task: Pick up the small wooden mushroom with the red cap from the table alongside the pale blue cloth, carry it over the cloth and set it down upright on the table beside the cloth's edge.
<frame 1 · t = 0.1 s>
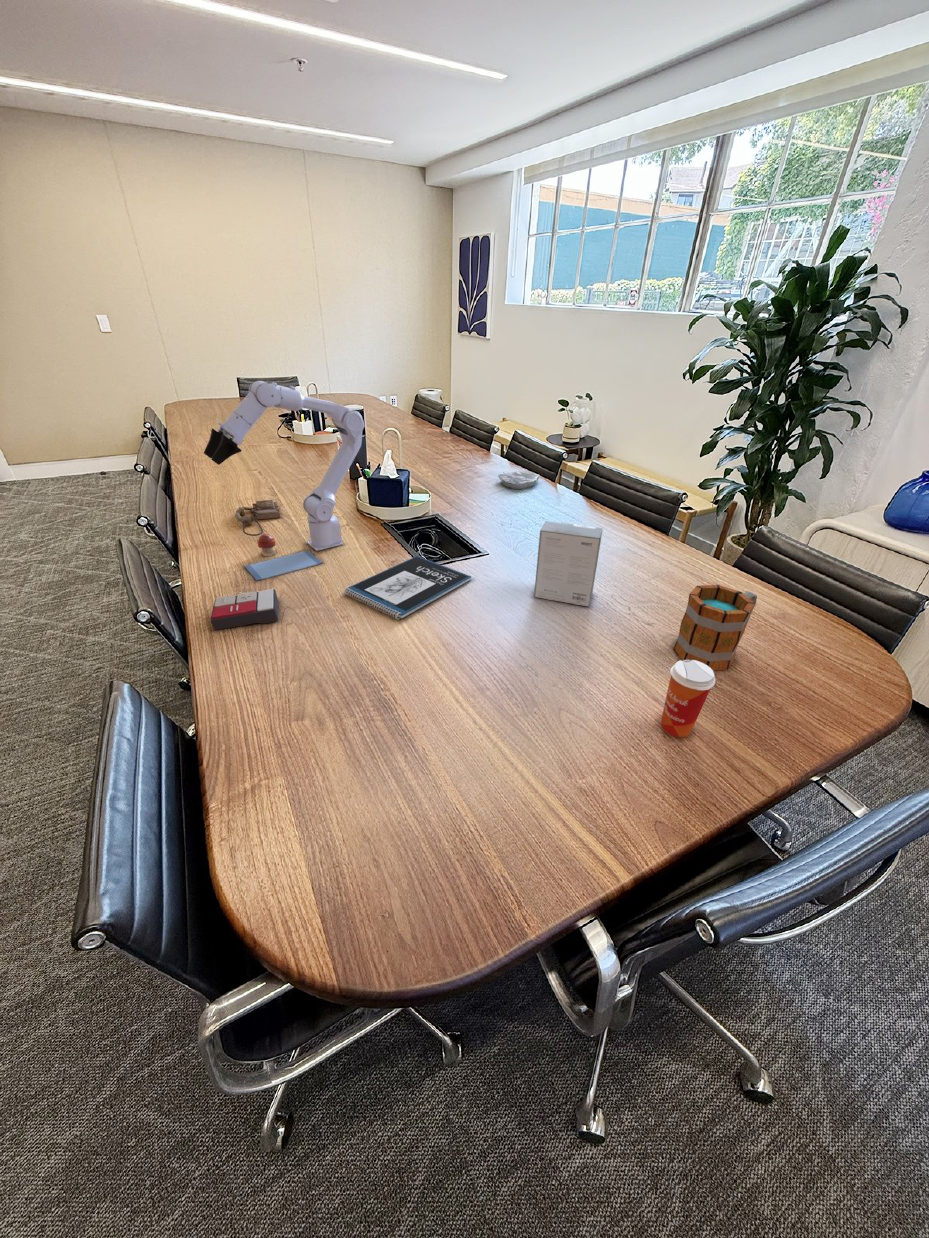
hand: (211, 459, 137), 32 cm above the table, tool tilted 50°, fingers open, 7 cm apart
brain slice: (517, 484, 228), on the table
grey and red box: (247, 615, 131), on the table
sketchbook: (409, 587, 145), on the table
mushroom: (268, 553, 162), on the table
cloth: (283, 565, 155), on the table
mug: (711, 651, 122), on the table
hard drive box: (562, 596, 143), on the table
paper cup: (675, 728, 99), on the table
telephone: (259, 520, 185), on the table
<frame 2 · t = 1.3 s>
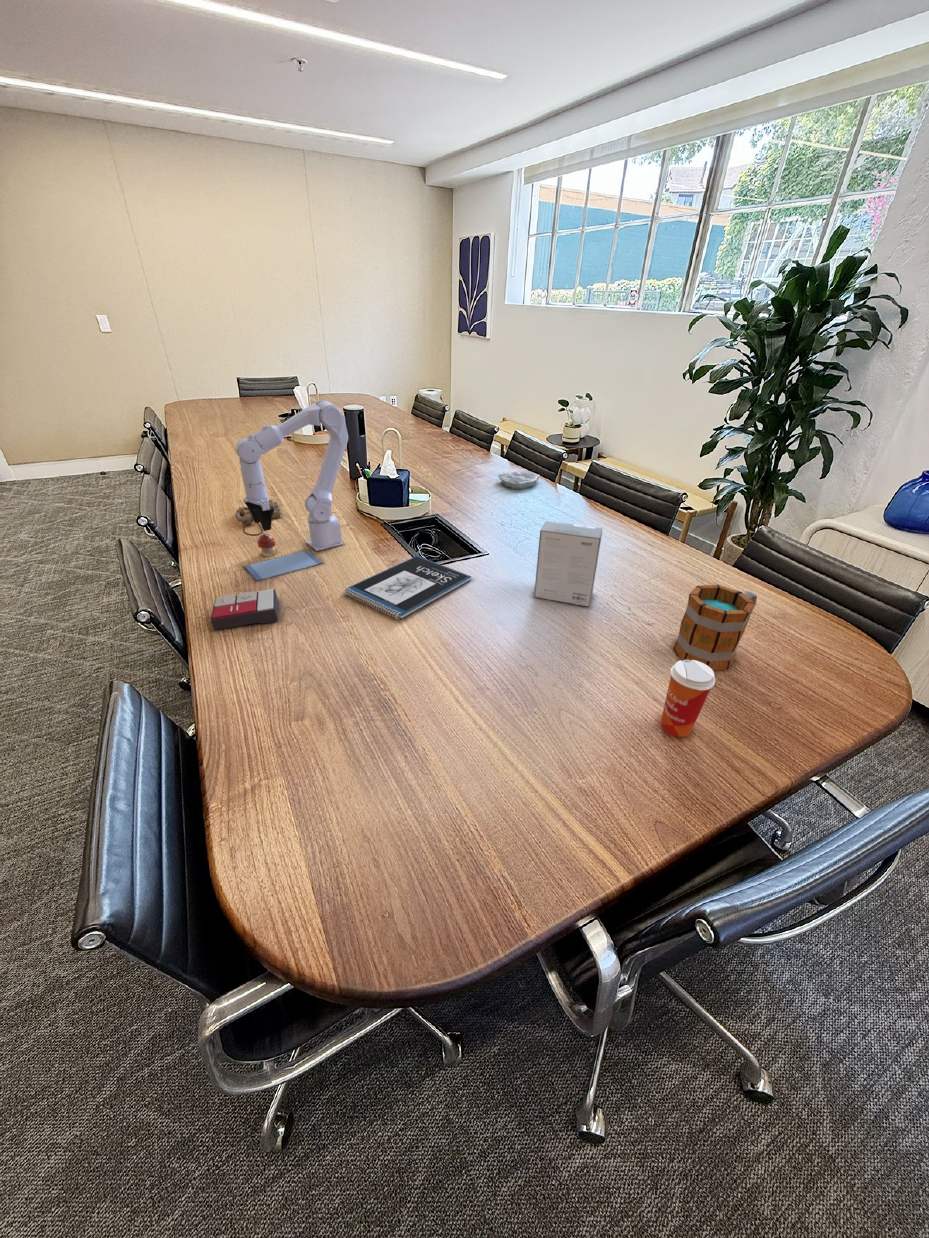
hand: (263, 526, 157), 9 cm above the table, tool pointing down, fingers open, 7 cm apart
nothing on the table moved.
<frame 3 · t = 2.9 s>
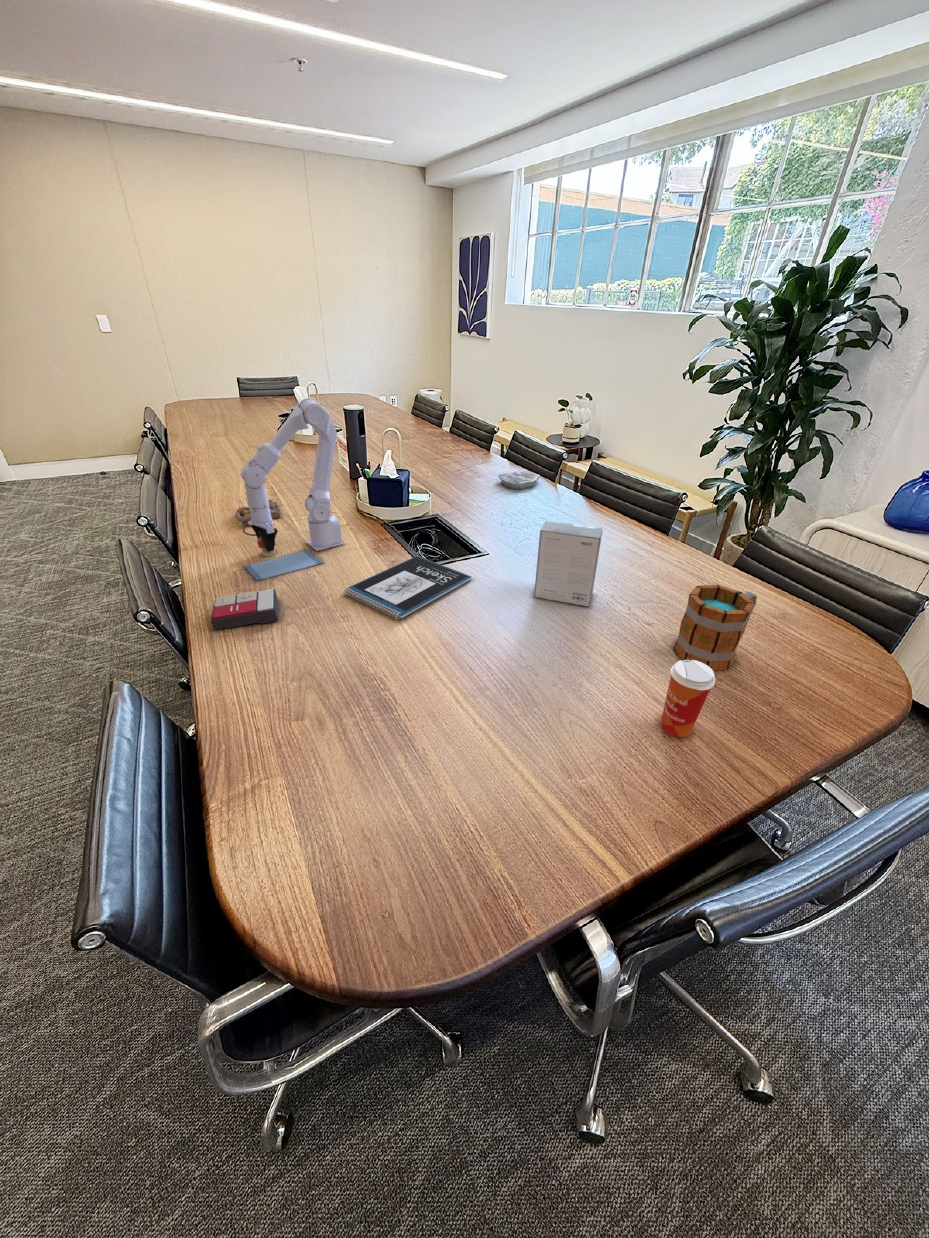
hand: (267, 547, 160), 2 cm above the table, tool pointing down, fingers closed on mushroom, 5 cm apart
mushroom: (268, 553, 161), on the table, touching gripper
everything else where it was.
when the fingers open (2 cm above the table, at t = 8.2 s): mushroom stays where it is, on the table.
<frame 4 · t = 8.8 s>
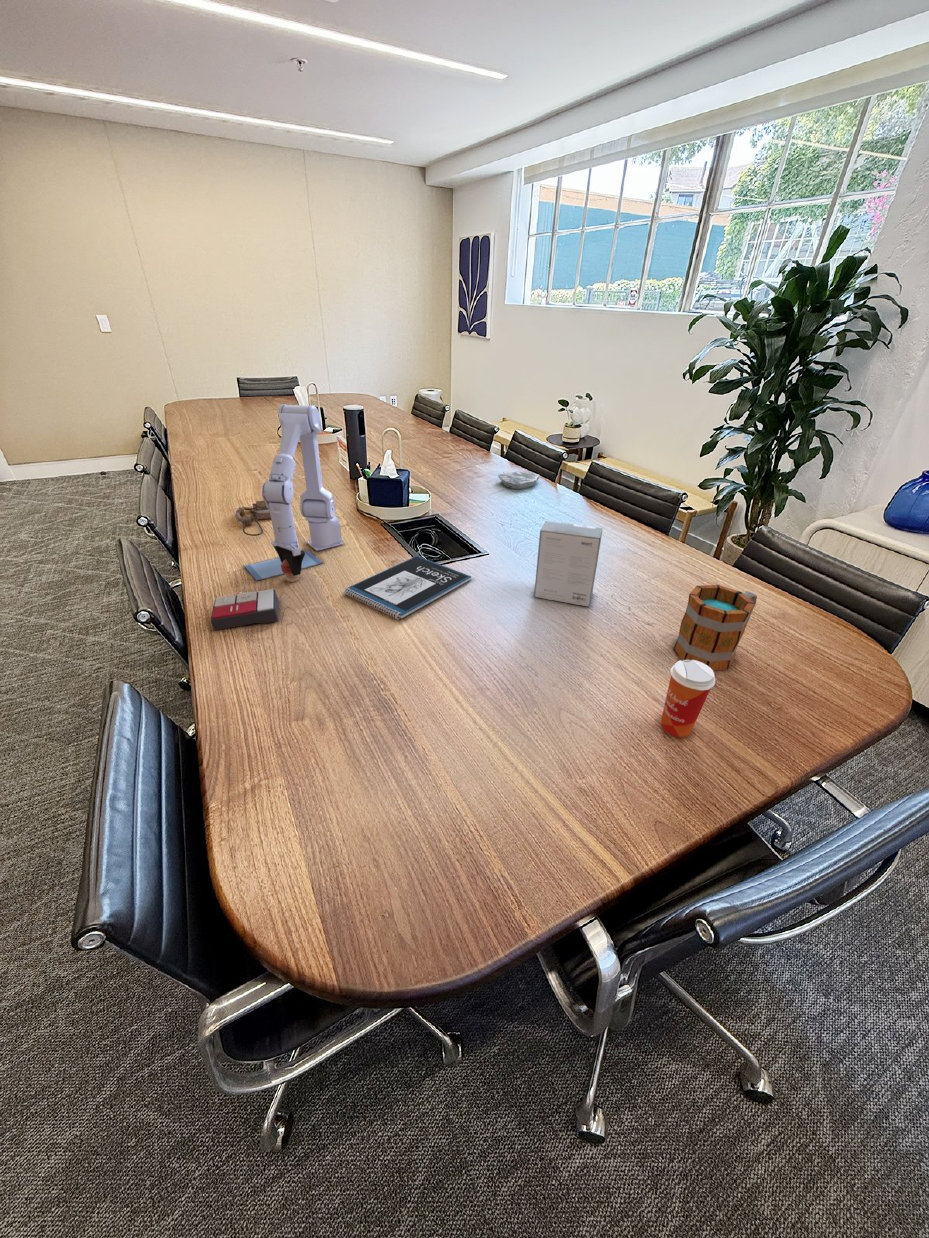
hand: (291, 569, 146), 3 cm above the table, tool pointing down, fingers open, 7 cm apart
mushroom: (292, 578, 148), on the table
everything else where it was.
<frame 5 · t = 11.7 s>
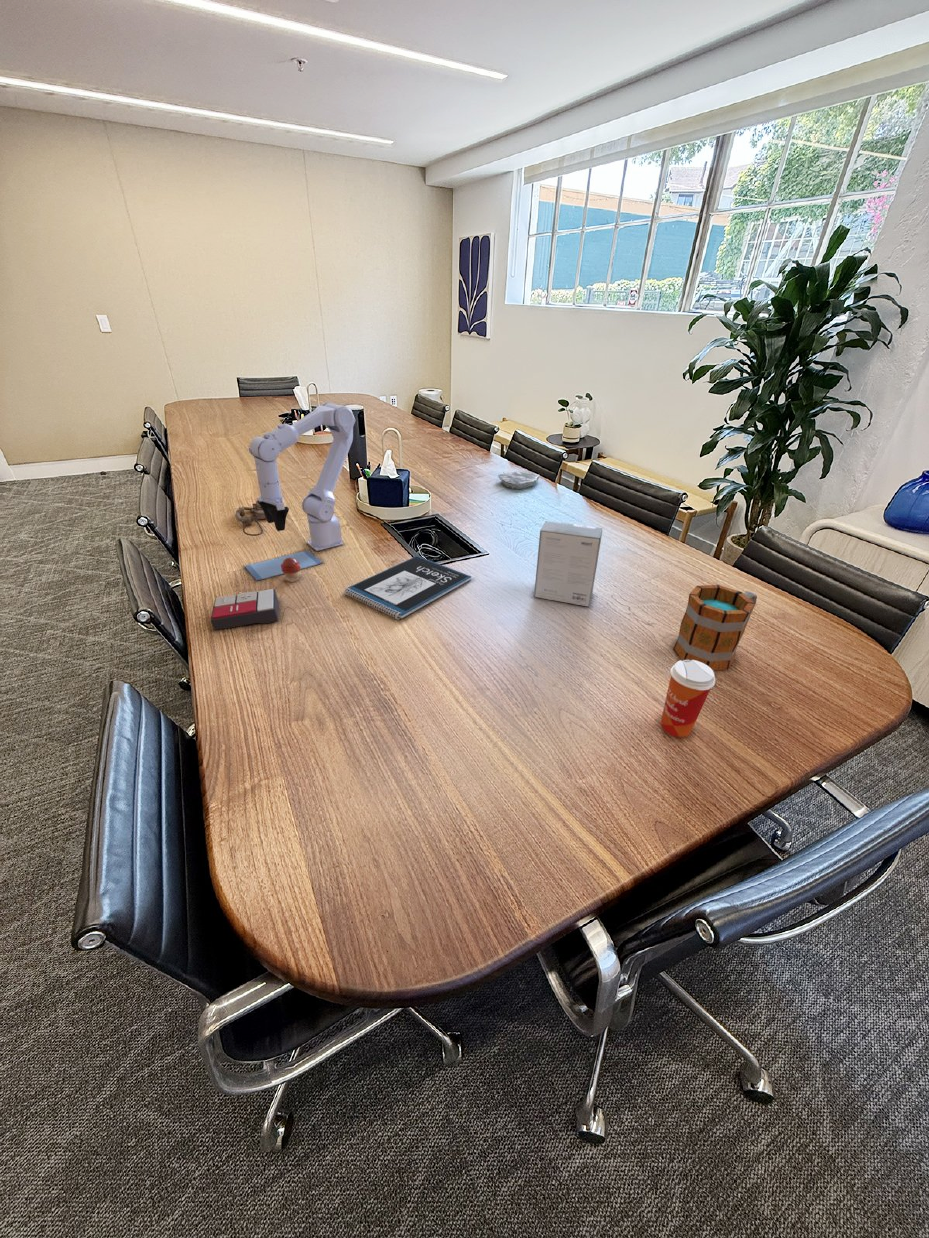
hand: (276, 526, 154), 10 cm above the table, tool pointing down, fingers open, 7 cm apart
nothing on the table moved.
at the end: mushroom inside the target area (1.5 cm from its centre), on the table; mushroom touching table; mushroom tilted 0° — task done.
